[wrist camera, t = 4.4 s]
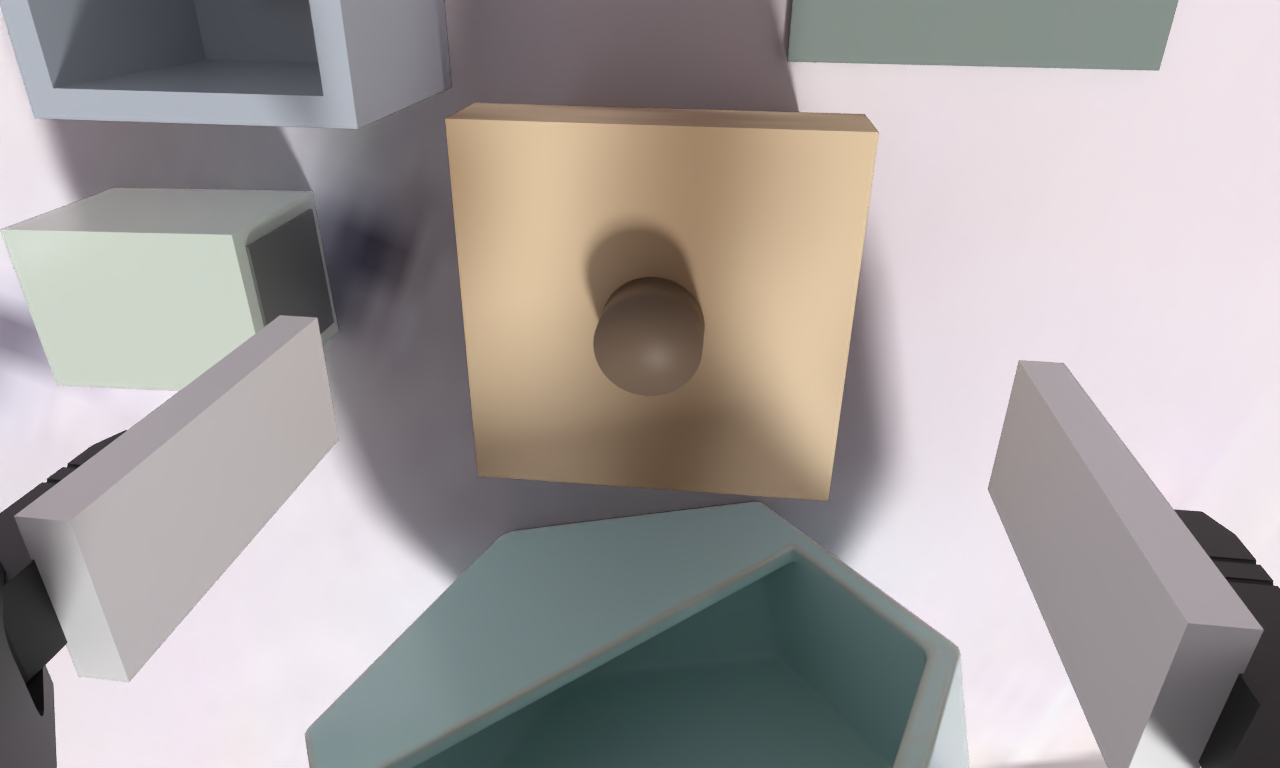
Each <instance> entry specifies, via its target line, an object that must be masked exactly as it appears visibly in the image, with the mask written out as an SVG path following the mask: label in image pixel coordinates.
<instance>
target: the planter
mask: <svg viewBox="0 0 1280 768" xmlns="http://www.w3.org/2000/svg"><path fill="white" fill-rule="evenodd" d="M305 740H306V748H307V754H308V761H309V767H310V768H969V755H968V743H967V730H966V717H965V704H964V692H963V679H962V666H961V654H960V650H959V648H958V647H957V646H956V645H955V644H954V643H952V642H951V641H950V640H948V639H947V638H946V637H944V636H943V635H942V634H940V633H939V632H938V631H936V630H935V629H934V628H932V627H931V626H929V625H928V624H927V623H925V622H924V621H923V620H921V619H920V618H919V617H917V616H916V615H914V614H913V613H912V612H910V611H909V610H908V609H906V608H905V607H904V606H902V605H901V604H899V603H898V602H897V601H895V600H894V599H893V598H891V597H890V596H889V595H887V594H886V593H885V592H883V591H882V590H880V589H879V588H878V587H876V586H875V585H874V584H872V583H871V582H870V581H868V580H867V579H865V578H864V577H863V576H861V575H860V574H859V573H857V572H856V571H855V570H853V569H852V568H850V567H849V566H848V565H846V564H845V563H844V562H842V561H841V560H840V559H838V558H837V557H836V556H834V555H833V554H831V553H830V552H829V551H827V550H826V549H825V548H823V547H822V546H821V545H819V544H818V543H816V542H815V541H814V540H812V539H811V538H810V537H808V536H807V535H806V534H804V533H803V532H801V531H800V530H799V529H797V528H796V527H795V526H793V525H792V524H791V523H789V522H788V521H786V520H785V519H784V518H782V517H781V516H780V515H778V514H777V513H776V512H774V511H773V510H771V509H770V508H769V507H767V506H766V505H764V504H763V503H761V502H747V503H738V504H730V505H722V506H713V507H705V508H697V509H688V510H680V511H672V512H663V513H655V514H647V515H639V516H630V517H622V518H614V519H606V520H597V521H589V522H581V523H573V524H564V525H556V526H548V527H540V528H532V529H525V530H517V531H511V532H508V533H505V534H503V535H502V536H500V537H499V538H498V539H497V540H496V541H495V542H494V543H493V544H492V545H491V546H490V547H489V548H488V549H487V550H485V551H484V552H483V553H482V554H481V555H480V556H479V557H478V558H477V559H476V560H475V561H474V562H473V563H472V564H471V565H470V566H469V567H468V568H467V569H466V570H465V571H464V572H463V573H462V574H461V575H460V576H459V577H458V578H457V579H456V580H455V581H454V582H453V583H452V584H451V585H450V586H449V587H448V588H447V589H446V590H445V591H444V592H443V593H442V594H441V595H440V596H439V597H438V598H437V599H436V600H435V601H434V602H433V603H432V604H431V605H430V606H429V607H428V608H427V609H426V610H425V611H424V612H423V613H422V614H421V615H420V616H419V617H418V618H417V619H416V620H415V621H414V622H413V623H412V624H411V625H410V626H409V627H408V628H407V629H406V630H405V631H404V632H403V633H402V634H401V635H400V636H399V637H398V638H397V639H396V640H395V641H394V642H393V643H392V644H391V645H390V646H389V647H388V648H387V649H386V650H385V651H384V652H383V653H382V654H381V655H380V656H379V657H378V658H377V659H376V660H375V661H374V662H373V663H372V664H371V665H370V666H369V667H368V668H367V669H366V670H365V671H364V672H363V673H362V674H361V675H360V677H359V678H358V679H357V680H356V681H355V682H354V683H353V684H352V685H351V686H350V687H349V688H348V689H347V690H346V691H345V692H344V693H343V694H342V695H341V696H340V697H339V698H338V699H337V700H336V701H335V702H334V703H333V704H332V705H331V706H330V707H329V708H328V709H327V710H326V711H325V712H324V713H323V714H322V715H321V716H320V717H319V718H318V719H317V720H316V721H315V722H314V723H313V724H312V725H311V726H310V727H309V728H308V729H307V731H306V733H305Z"/></svg>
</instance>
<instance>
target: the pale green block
mask: <svg viewBox="0 0 1280 768" xmlns="http://www.w3.org/2000/svg"><path fill="white" fill-rule="evenodd" d="M0 231H1V234H2V237H3V240H4V242H5V245H6V248H7V250H8V253H9V256H10V259H11V261H12V264H13V267H14V269H15V272H16V275H17V278H18V280H19V283H20V286H21V288H22V291H23V294H24V297H25V299H26V302H27V305H28V307H29V310H30V313H31V316H32V318H33V321H34V324H35V326H36V329H37V332H38V335H39V337H40V340H41V343H42V346H43V348H44V351H45V354H46V356H47V359H48V362H49V365H50V367H51V370H52V373H53V375H54V378H55V381H56V384H57V386H76V387H100V388H123V389H146V390H169V391H180V390H182V389H183V388H184V387H186V386H187V385H188V384H190V383H191V382H192V381H194V380H195V379H196V378H198V377H199V376H200V375H201V374H203V373H204V372H205V371H207V370H208V369H209V368H211V367H212V366H213V365H215V364H216V363H217V362H219V361H220V360H221V359H223V358H224V357H225V356H227V355H228V354H229V353H231V352H232V351H233V350H235V349H236V348H237V347H239V346H240V345H241V344H243V343H244V342H245V341H247V340H248V339H249V338H251V337H252V336H253V335H254V334H256V333H257V332H258V331H260V330H261V329H262V328H264V327H265V326H266V325H268V324H269V323H270V322H272V321H273V320H274V319H276V318H277V317H278V316H280V315H284V316H300V317H317V319H318V324H319V330H320V336H321V341H322V346H323V345H324V344H325V343H326V342H327V341H328V340H330V339H331V338H332V337H333V336H334V335H335V334H336V333H337V332H338V331H339V330H338V325H337V320H336V315H335V309H334V304H333V299H332V293H331V288H330V283H329V277H328V272H327V267H326V262H325V256H324V251H323V246H322V240H321V235H320V230H319V225H318V219H317V214H316V209H315V203H314V198H313V193H312V191H290V190H230V189H170V188H111V189H109V190H106V191H103V192H100V193H98V194H95V195H92V196H90V197H87V198H84V199H81V200H79V201H76V202H73V203H71V204H68V205H65V206H62V207H60V208H57V209H54V210H52V211H49V212H46V213H44V214H41V215H38V216H35V217H33V218H30V219H27V220H25V221H22V222H19V223H16V224H14V225H11V226H8V227H6V228H3V229H0Z"/></svg>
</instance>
